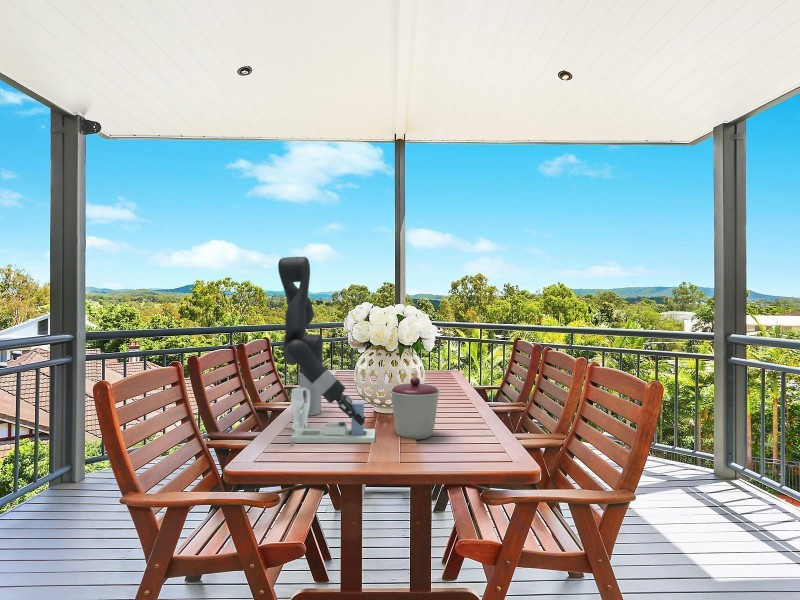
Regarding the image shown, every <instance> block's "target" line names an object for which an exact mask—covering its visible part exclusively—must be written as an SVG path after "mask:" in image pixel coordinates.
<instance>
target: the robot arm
mask: <svg viewBox="0 0 800 600" xmlns="http://www.w3.org/2000/svg"><path fill="white" fill-rule="evenodd" d="M277 269H278V274H279V279H280V281H281V285H282V287H283V291H284V294H285V298H286V303H287V308H286V311H285V318H284V320H285V321H284V322H285V323H284V330H285V333H284V340H283V346H282V356H283V359H284V361H285V362H286V364H287V363H288V364H289V365H298V366H299V379H298V380H299V386H298V387H305V388H310V407H309V412H308V416H317V415H320V414H321V413H322V397H323V398H324V399H325V400H326V401H327V402H328V403H330V404H333V403H334V401H336V403H337V406H338V409H340V410H341V412H343V413H344V414H345V415H347V416H348V417H349V418H350V419H352V418H354V419H355V420H356V421H357V422H358V424H359V425H362V424H363V423H364V424H365V422H366V416H365V415H364V419H363V418H362V417H361V416H360V415H359V414H358V413H357V411H356V410H355V409H354V406H353V405H352V402H354V401H353V400H352V399H351V397H349V395H348V394H346V395H345V394H344V391H345V390H346V387H345V386H344V384H343V383H341V381H340V380H339V379H338V378H337V377H336V376H335V375H334V374H333V373H332V372H331V371H329V370H328V369H327V368H326V367H325V366H324V365H323V352H324V351H323V349H324V340H323V336H322V335H321V334H309V333H308V334H306V330H307V328H308V327H309V325H310V324H311V323H312V321H313V318H314V316H315V315H314V308H313V303H312V301H311V299H310V298H309V296H308V294H309V287H310V279H311V278H310V277H311V266H310V260H309V258H308V257H306V256H287V257H281V258H280V259H279V261H278V263H277ZM295 283H299V287H297V286H296V285H295Z"/></svg>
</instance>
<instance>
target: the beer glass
mask: <svg viewBox="0 0 800 600" xmlns="http://www.w3.org/2000/svg"><path fill="white" fill-rule="evenodd" d="M290 395H291V396H290V401H291V402H290V405H291V411H292V418H293V419H292V427H291V430H292V431H294V430H296V428H309V423H308V418H309V415H308V412H309V407H310V388H305V387H299V386H297V387H293V388H292V389H291V394H290Z"/></svg>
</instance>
